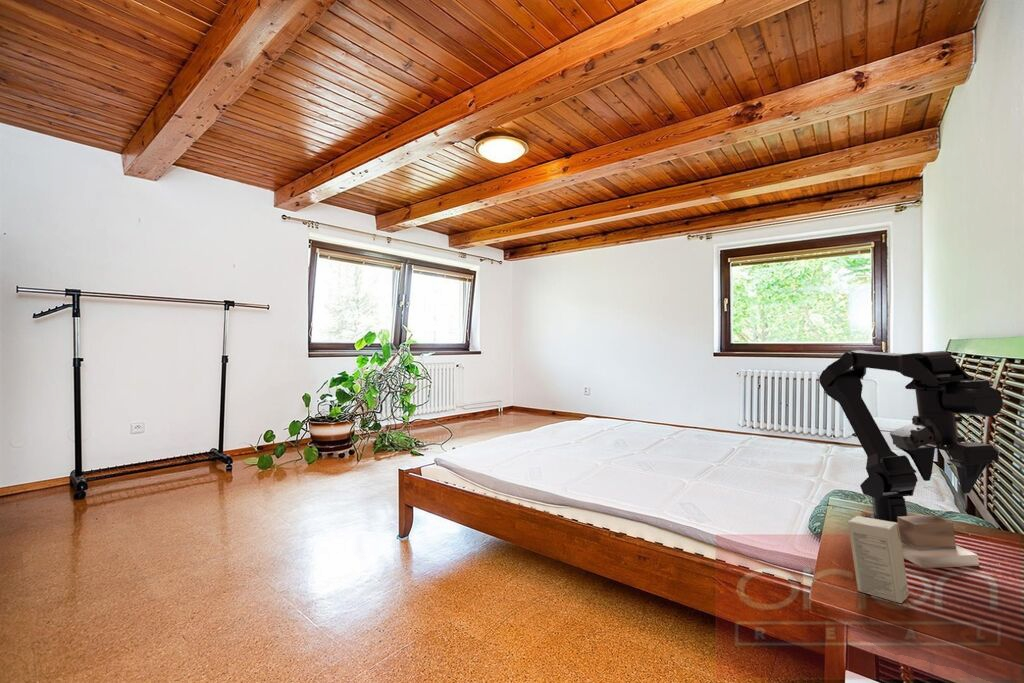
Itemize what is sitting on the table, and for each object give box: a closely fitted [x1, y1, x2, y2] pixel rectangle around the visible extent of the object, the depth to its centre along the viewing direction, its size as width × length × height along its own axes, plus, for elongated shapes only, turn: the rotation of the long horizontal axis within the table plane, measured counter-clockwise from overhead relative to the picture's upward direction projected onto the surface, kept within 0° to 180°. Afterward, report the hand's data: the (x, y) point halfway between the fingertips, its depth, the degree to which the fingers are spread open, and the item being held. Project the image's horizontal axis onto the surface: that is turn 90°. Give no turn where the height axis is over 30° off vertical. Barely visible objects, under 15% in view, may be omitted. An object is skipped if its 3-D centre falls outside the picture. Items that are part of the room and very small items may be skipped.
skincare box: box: [847, 515, 910, 604], centre depth 78 cm, size 6×4×12 cm
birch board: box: [901, 542, 980, 569], centre depth 90 cm, size 10×10×2 cm
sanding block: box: [897, 514, 957, 551], centre depth 90 cm, size 4×7×5 cm, turn 86°
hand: (945, 486), depth 93 cm, fingers open, 9 cm apart
